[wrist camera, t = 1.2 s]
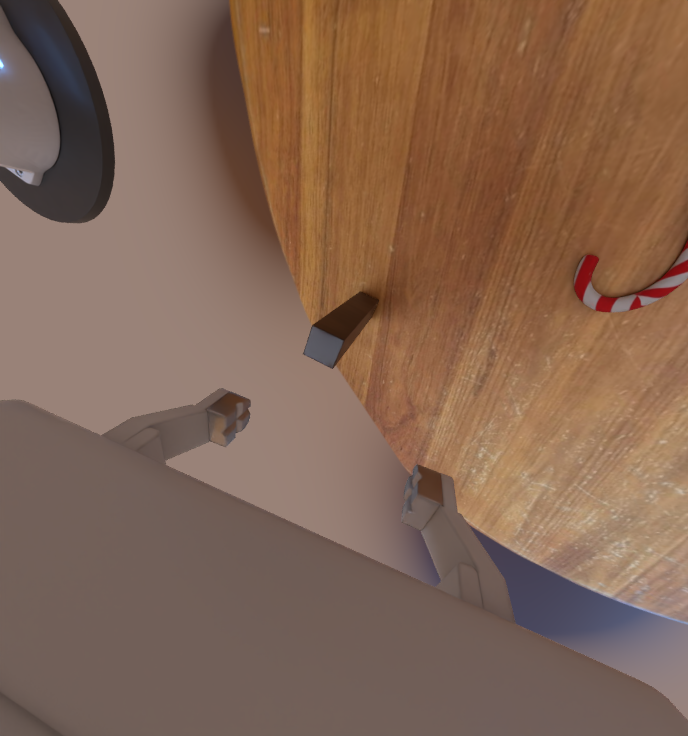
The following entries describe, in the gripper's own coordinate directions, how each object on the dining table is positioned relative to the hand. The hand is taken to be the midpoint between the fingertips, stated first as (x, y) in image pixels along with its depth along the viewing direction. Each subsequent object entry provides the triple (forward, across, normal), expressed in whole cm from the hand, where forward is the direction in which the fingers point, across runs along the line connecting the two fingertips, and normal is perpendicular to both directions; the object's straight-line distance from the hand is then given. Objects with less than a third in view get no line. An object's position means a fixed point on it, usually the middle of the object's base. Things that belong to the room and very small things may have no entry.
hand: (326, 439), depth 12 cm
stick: (+21, +3, -1) cm, 21 cm away
